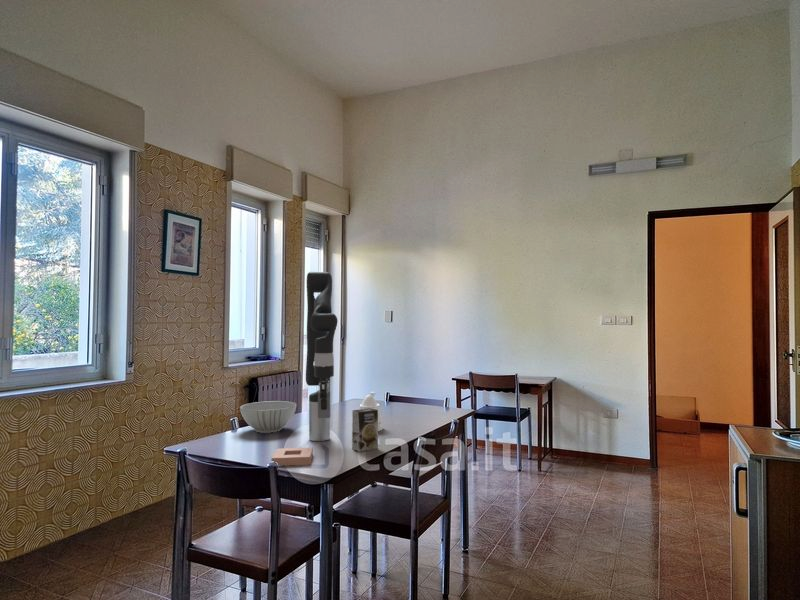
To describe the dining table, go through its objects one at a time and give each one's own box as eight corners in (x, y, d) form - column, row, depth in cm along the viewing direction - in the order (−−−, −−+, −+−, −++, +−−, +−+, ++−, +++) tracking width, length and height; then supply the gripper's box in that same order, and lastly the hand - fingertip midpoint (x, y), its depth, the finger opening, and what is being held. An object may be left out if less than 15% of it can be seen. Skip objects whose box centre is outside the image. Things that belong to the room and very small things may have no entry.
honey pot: (384, 426, 257) (383, 390, 258) (380, 432, 244) (380, 394, 245) (358, 426, 258) (358, 390, 259) (354, 431, 245) (353, 394, 246)
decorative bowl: (269, 439, 232) (269, 412, 233) (227, 433, 245) (227, 407, 246) (307, 427, 256) (307, 403, 256) (267, 422, 269) (267, 399, 269)
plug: (318, 415, 202) (318, 390, 203) (330, 415, 203) (330, 390, 203) (317, 418, 198) (317, 392, 198) (330, 417, 198) (329, 391, 199)
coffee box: (359, 452, 208) (359, 412, 208) (351, 449, 213) (351, 409, 214) (378, 448, 213) (378, 409, 214) (370, 445, 218) (370, 407, 219)
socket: (276, 456, 203) (276, 448, 203) (312, 455, 204) (312, 447, 204) (271, 466, 189) (271, 458, 189) (309, 465, 190) (309, 456, 190)
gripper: (315, 363, 208) (315, 405, 207) (312, 366, 194) (313, 412, 193) (334, 362, 208) (334, 405, 208) (333, 366, 194) (333, 411, 194)
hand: (324, 408), depth 200 cm, fingers closed on plug, 4 cm apart
